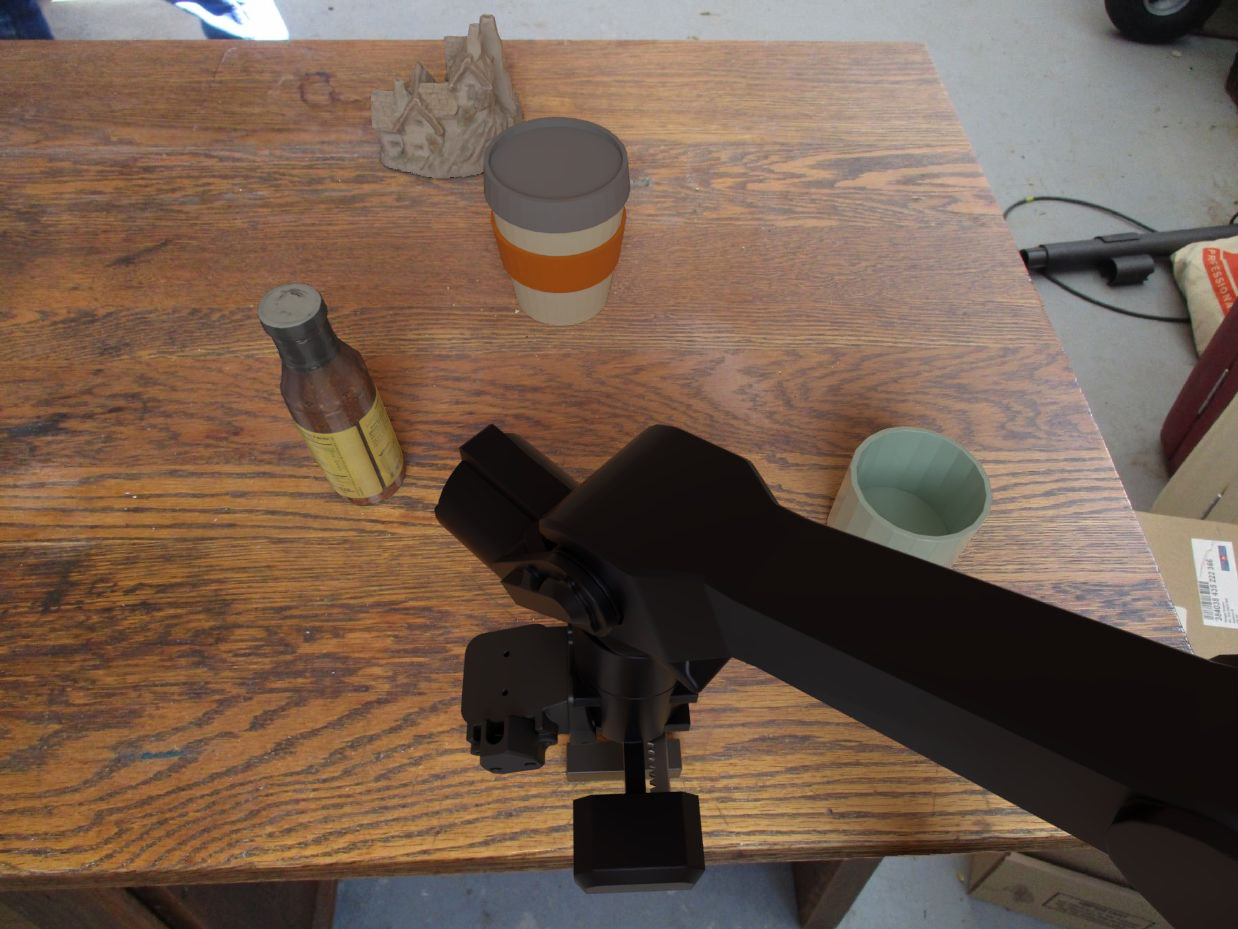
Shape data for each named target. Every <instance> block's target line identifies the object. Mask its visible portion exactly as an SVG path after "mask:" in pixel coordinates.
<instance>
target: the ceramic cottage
mask: <svg viewBox="0 0 1238 929" xmlns="http://www.w3.org/2000/svg"><path fill="white" fill-rule="evenodd" d="M498 30H499V29H498V27H497V23H496V16H494V14H487V13H483V14H481V15H480V16H479V22H478V23H473V22H472V23H469V24H468V31H467V35H463V36H462V35H459V36H458V35H456V36H455V35H445V36H443V42H444V53H445V54H444V55H445V71H446V74H445V75H444V81H441V82H438V81H437V80H436V79H435V78H434V76H433V75H432V74H431V73H430V72H429V70H427V69H426V68H425V67H424V65H423V64H422V62H420V61H416V62H415V64H414V66H413V67H412V71H411V72H410V74H409V75H408V81H407V82H406V80H405V79H404V78H403V77H401V78H393V79H392V89H391V90H390V89H380V88H377V87H374V88H373V89H372V90H371V91H370V93H371V95H370V104H371V105H370V107H371V108H370V111H371V127H372V129H371V130H373V131H374V132H376V134H377V136H378V139H379V141H380V143H381V146H380V152H379V159H380V158H381V162H382V163H383V164H384V165H385V166H386V167H387V166H388V167H389V168H392V169H393V170H394V171H397V170H398V171H400V170H401V171H400V172H403V171H407V172H411V173H410V174H412V172H413V173H415V174H414V175H416V174H417V175H418V176H419V175H422V176H421V177H425V176H427V177H432V178H431V179H433V178H434V179H436V178H437V179H451V178H450V177H454V178H460V177H461V178H464V177H465V178H466V177H468V176H469V177H471V176H470V175H475V176H477V175H476V174H479V173H481V172H484V170H483V162H484V153H485V151H486V148H487V146H488V145H489V144H490V142H491V141H492V140H493V138H495V137H496V136H497V135H498V134H499V133H501V132H502V131H504V130H506V129H507V128H509V127H511V126H513V125H516V124H518V123H521V122H522V120H523V121H524V113H523V110H522V106H521V102H520V98H519V96H518V95H517V94H516V93H515V92H514V87H513V83H512V79H511V78H512V77H511V75H510V73H509V71H508V69H507V68H506V65H505V61H504V48H503V41H502V38H501V36H500V34H499V31H498ZM381 162H380V163H381ZM382 163H381V164H382ZM383 164H382V165H383ZM384 165H383V166H384ZM385 166H384V167H385ZM388 167H387V168H388ZM389 168H388V169H389ZM395 169H396V170H395ZM402 170H403V171H402ZM479 175H480V174H479Z"/></svg>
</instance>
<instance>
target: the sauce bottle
mask: <svg viewBox="0 0 1238 929" xmlns="http://www.w3.org/2000/svg"><path fill="white" fill-rule="evenodd" d="M256 314H257V317H258V320H259V322H260V325H261V327H262V330H263V331H264V332H265V333H266V334H267V335H268V337H270V338H271V340H272V342H273V343H274V346H275V347H276V350H277V351H278V354H277V355H278V356H279V358H280V362H281V376H280V383H279V391H280V396H281V398H282V399H283V401H284V403H285V405H286V408H287V409H288V412H289V414H290V417H291V419H292V420H293V422H294V424H295V426H296V427H297V429H298V431H299V433H300V436H301V437H302V439H303V441H304V442H305V444H306V446H307V448H308V450H309V451H310V453H311V455H312V457H313V458H314V461H315V462H316V464H317V465H318V467H319V469H320V471H321V472H322V474H323V477H324V478H325V480H326V482H327V483H328V485H329V487H330V488H331V489H332V490H333V491H334V493H335V494H336V495H337V496H338V497H340V498H341V499H343V500H345V501H346V502H348V503H351V504H355V505H357V506H368V505H374V504H377V503H379V502H383V501H384V500H387V499H389V498H391V497H392V496H394V494H396V492H397V491H398V490H399V489H400V488H401V485H402V483H403V482H404V480H405V476H406V472H407V469H406V468H407V467H406V464H405V460H404V454H403V450H402V447H401V445H400V442H399V440H398V437H397V435H396V433H395V430H394V427H393V425H392V423H391V420H390V418H389V415H388V413H387V410H386V408H385V405H384V403H383V400H382V397H381V395H380V393H379V390H378V386H377V385H376V382H375V380H374V378H373V377H372V376H371V374H370V371H369V369H368V366H367V364H366V362H365V360H364V358H363V355H362V354H361V352H360V351H359V350H358V349H355V348H353V347H352V346H351V345H349V344H348V343H347V342H345V341H344V340H342V339H340V338H339V337H338V335H337V333H335V331H334V329H333V327H332V325H331V322H330V321H329V317H328V316H329V315H328V314H329V309H328V305H327V303H326V302H325V300H324V298H323V295H322V294H321V293H320V291H319V290H318V289H317V288H316V287H314V286H313V285H310V284H308V283H303V282H292V283H285V284H281V285H277V286H275V287H272V288H271V289H269V291H267V292H266V293H265V294H264V295H263V296H262V297H261V299H260V300H259V301H258V304H257V309H256Z"/></svg>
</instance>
